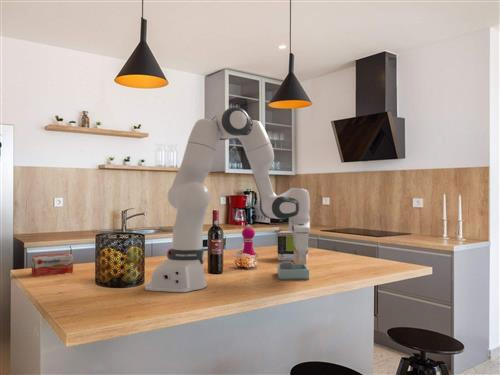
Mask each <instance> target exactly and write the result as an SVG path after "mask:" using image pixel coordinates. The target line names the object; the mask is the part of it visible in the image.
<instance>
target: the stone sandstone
mask: <svg viewBox="0 0 500 375" xmlns="http://www.w3.org/2000/svg"><path fill="white" fill-rule="evenodd" d="M293 264H297V265H300V264H305V265H307V261H306V252H304V254H303V261H299V260H298V251H294V261H293Z"/></svg>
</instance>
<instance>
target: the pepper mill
mask: <svg viewBox="0 0 500 375" xmlns="http://www.w3.org/2000/svg"><path fill="white" fill-rule="evenodd" d="M255 234H256V233H255V230H254V229H253V228H252V227H251V225H250V224H247V225H246V227H245V228H244V229H242V232H241V235H242V237H243V238H242V239H243V240H242V242H243V250H242V251H241V253H242V252H243V253H247V254H250V255H256V252H255V250H254V247H253V243H254V237H255Z"/></svg>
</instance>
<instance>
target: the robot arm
mask: <svg viewBox="0 0 500 375" xmlns="http://www.w3.org/2000/svg"><path fill="white" fill-rule="evenodd" d="M188 137H189V138H188V140H187V143H186V147H185V151H184V154H183V157H182V161H181V164H180V166H179V169H178V171H177V173H176V175H175V177H174V180H173V182H172V184H171V187H170V188H169V190H168V192H167V202H168V203H169V205H171V207H173V208H174V209H175V210H176V217H175V221H174V224H173V226H172V247H170V248H169V249H168V250H167V251H166V256H167V259H166V260H164V261H163V262H161V263H160V264H159V265H158V266H157V267H156V268H154V270H153V271H152V275H151V278H150V281H148V282H146V283H145V285H144V290H145V291H153V292H169V293H170V292H171V293H187V292H191V291H197V290H201V289H205V288H206V287H207V286H208V284H207V281H206V277H205V271H204V262H205V251H204V249H205V248H203V242H204V241H203V240H204V239H203V238H204V236H203V234H204V233H203V232H204V230H203V229H204V223H205V218H206V214H207V213H206V212H207V209H208V206H209V205H210V203H211V199H212V196H211V192H210V190H209V188H208V187H207V186H206V185H204V184H203V183H204V182H205V180H206V178H207V176H208V175H209V173H210V172H211V169H212V166H213V162H214V158H215V154H216V150H217V147H218V144H219V141H220V140H221V141H226V140H227V141H228V140H229V139H235V138H236V139H238V141H240V144H241V145H242V147H243V150H244V152H245V156H246V159H247V160H248V164H249V166H250V169H251V172H252V174H253V175H252V176H253V180H254V182H255V186H256V189H257V192H258V193H257V194H258V196H259V211H260V213H261V214H262V216H264V217H265V218H267V219H270V220H271V219H276V220H285V219H288V231H292V234H293V245H294V246H295V248H296V251H298V260H299V261H303V254H304V252H306V251H307V247H308V248H309V233H310V232H311V216H310V210H311V199H310V193H309V191H308V190H307V189H306V188H303V187H296V186H291V187H290V188H289V189H287V191H285V192H283V193H280V194H279V195H277V194H276V193H275V191H274V188H273V185H272V180H271V178H270V173H269V172H270V169H271V166H272V165H273V163H274V161H275V153H274V149H273V145H272V142H271V140H270V136H268V133H267V131H266V129H265V127H264V125H263V124H262V123H261V121H259V120H256V119H252V118H251V116H249V115H248V113H247V111H245V110H244V109H243V108H241V107H238V106H237V107H236V106H235V107H233V106H232V107H229V108H227V109H225V110H223V111H221V112H219V113H218V114H217V115H215V116H214V117H213V118H212V119H210V118H201V119H198V120H197V121H195V123H194V125H193V127H192V129H191V131H190V134H189V136H188Z"/></svg>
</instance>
